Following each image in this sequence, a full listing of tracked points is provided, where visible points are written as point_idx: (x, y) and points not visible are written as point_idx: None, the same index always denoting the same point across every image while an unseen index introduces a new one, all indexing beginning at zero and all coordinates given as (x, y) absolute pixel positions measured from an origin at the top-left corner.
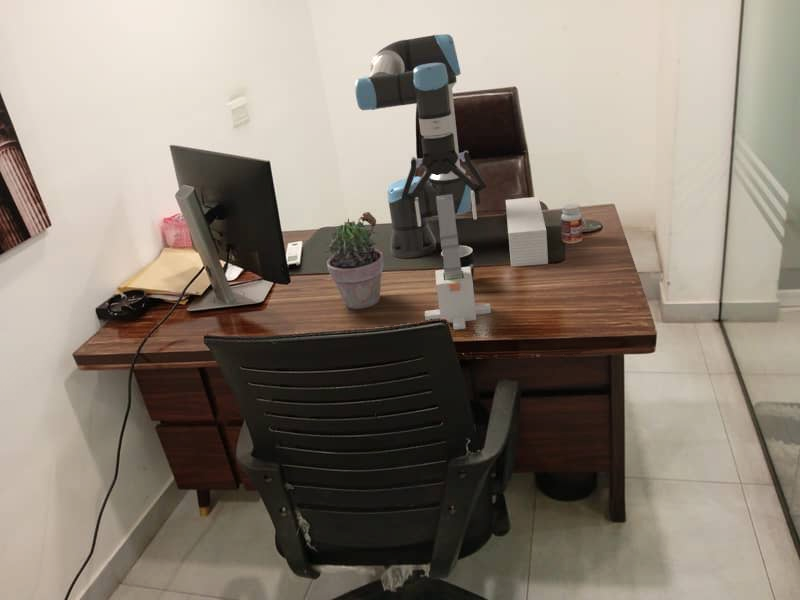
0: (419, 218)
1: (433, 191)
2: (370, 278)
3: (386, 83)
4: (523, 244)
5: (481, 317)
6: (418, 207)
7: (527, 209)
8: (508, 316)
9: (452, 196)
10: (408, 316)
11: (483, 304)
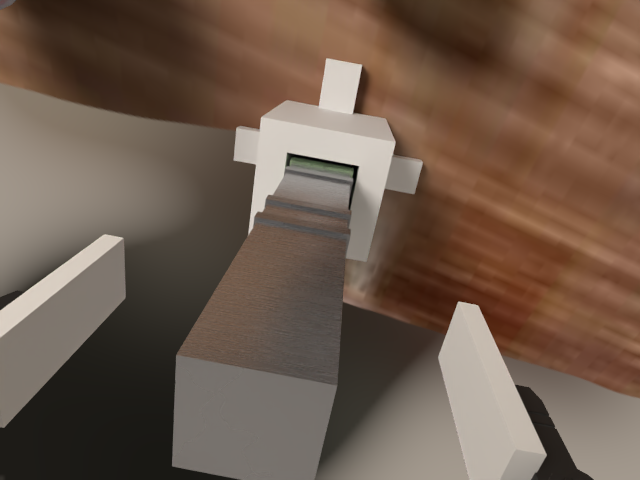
0: (93, 325)
1: None
2: (10, 4)
3: None
4: None
5: None
6: (45, 380)
7: None
8: (445, 227)
9: (321, 442)
10: (192, 112)
11: (404, 161)
